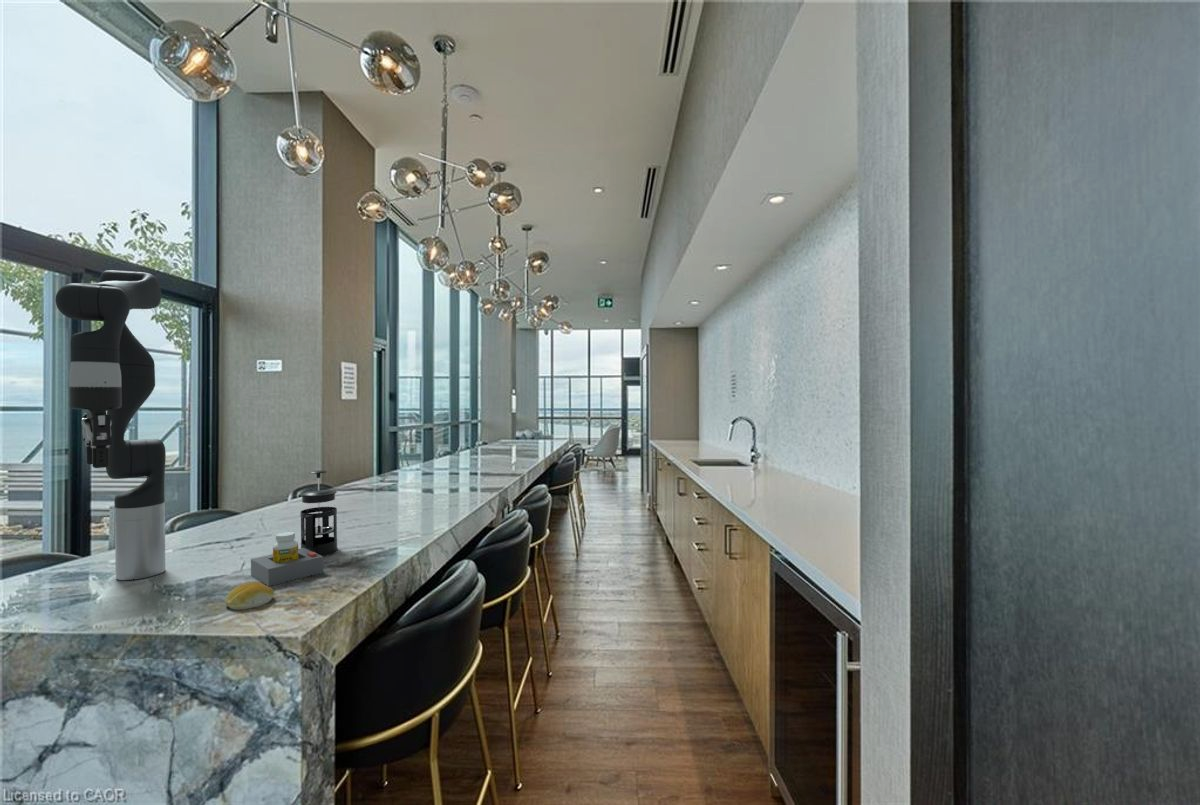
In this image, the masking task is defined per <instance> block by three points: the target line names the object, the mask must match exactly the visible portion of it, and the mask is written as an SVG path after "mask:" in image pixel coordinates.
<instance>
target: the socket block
mask: <svg viewBox="0 0 1200 805" xmlns="http://www.w3.org/2000/svg"><path fill="white" fill-rule="evenodd" d="M319 573H320V574H324V556H321V555H319V554H317V553H315V552H312V551H310V550H308V549H305V548H301V547H300V548H298V559H296V560H292V561H287V562H283V563H279V564H277V563H275V562H273V553H272V554H267V555H263V556H258V557H254V558H250V576H252V577H253V578H254V579H256V580H258V581H259V582H260V583H262V582H263V583H262V584H264V585H265V584H266V586H268V587H272V586H271V585H273V586H275V584H277V585H280V584H279V583H281V584H284V583H283V582H285V583H287V582H286V581H289V582H291V581H290V580H292V581H295V579H296V580H299V579H298V578H300V579H303V578H302V577H304V578H307V577H306V576H308V577H311V576H310V575H312V576H316V575H320V574H319ZM315 574H316V575H315Z"/></svg>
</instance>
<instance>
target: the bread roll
mask: <svg viewBox="0 0 1200 805" xmlns="http://www.w3.org/2000/svg"><path fill="white" fill-rule="evenodd" d="M274 595H275V591H274V589H273V588H272V587H271V586H267V585H265V584H264V583H262V582H261V581H259V582H258V581H250V582H245V583H241V584H240V585H238V586H236V587H235V588H232V590H230V591H229V593H228V594H227V595H226V597H225V600H224V602H225V606H226V607H228V608H230V609H231V610H237V611H239V610H240V611H241V610H243V611H244V610H249V609H253V608H258V607H261V606H265V605H266V603H267V604H268V603H270V602H271V600H272V599H273V598H274Z"/></svg>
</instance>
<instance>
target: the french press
mask: <svg viewBox="0 0 1200 805" xmlns="http://www.w3.org/2000/svg"><path fill="white" fill-rule="evenodd" d="M327 472H328V471H327V470H321V469H320V470H312V471H310V472H309V474H313V475H314V474H316V478H317V490H311V491H304V492H301V493H300V494H299V495H300V497H301V502H302V503H304V504H317V507H311V508H305V509H302V510H300V514H299V515H300V548H305V549H308V550H310V551H312V552H315V553H317V554H319V555H321V556H323V557H328V556H331V555H334V554H335V553H337V552H338V551H339V548H338V531H337V530H338V526H337V525H338V520H337V519H338V516H337V513H338V508H337V507H336V506H335V507H334V506H320V504H321V503H328V502H331V501H335V500H336V494H337V492H338V491H337V490H335V489H320V478H321V475H322V474H324V473H325V474H326V473H327ZM332 516H333V526H330V522H329V521H330V517H332ZM320 518H321V519H322V522H320V521H321V519H320ZM316 519H317V520H318V522H317V525H316ZM321 523H322V524H321ZM332 533H333V536H330V534H332ZM317 536H318V537H317ZM327 555H328V556H327Z"/></svg>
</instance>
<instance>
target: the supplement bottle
mask: <svg viewBox="0 0 1200 805" xmlns="http://www.w3.org/2000/svg"><path fill="white" fill-rule="evenodd" d="M295 539H296V532H294V531H293V532H292V531H287V532H285V531H284V532H280V533H277V534H276V535H275V541H276V542H275V543H274V544H273V546H272V554H273V562H275V563H277V564H279V563H283V562H287V561H292V560H296V559H298V549H299V542H298V541H297V540H295Z"/></svg>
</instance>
